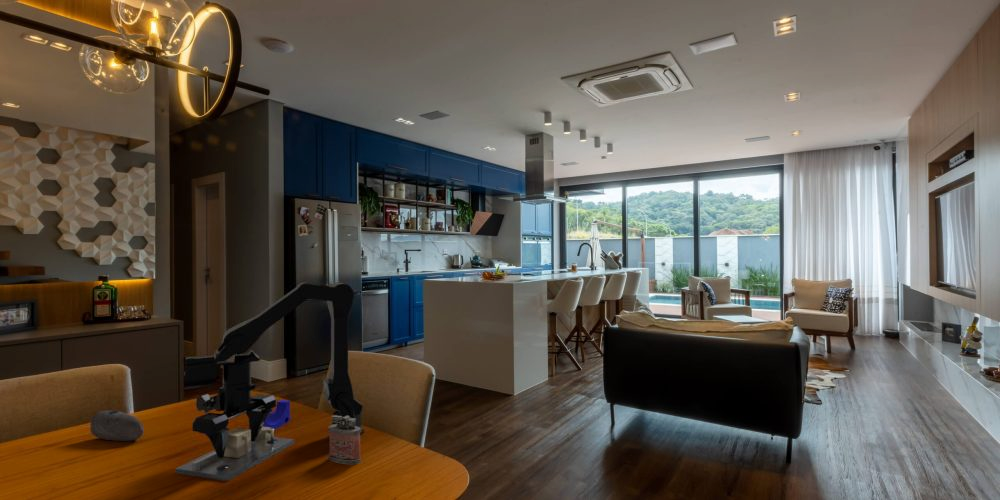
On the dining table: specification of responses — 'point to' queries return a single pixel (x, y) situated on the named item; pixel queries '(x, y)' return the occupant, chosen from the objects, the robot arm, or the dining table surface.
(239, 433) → the block
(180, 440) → the dining table surface
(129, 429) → the perforated stone tool
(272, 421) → the cable clip
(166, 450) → the dining table surface
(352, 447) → the lighter
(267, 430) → the drilled plate
